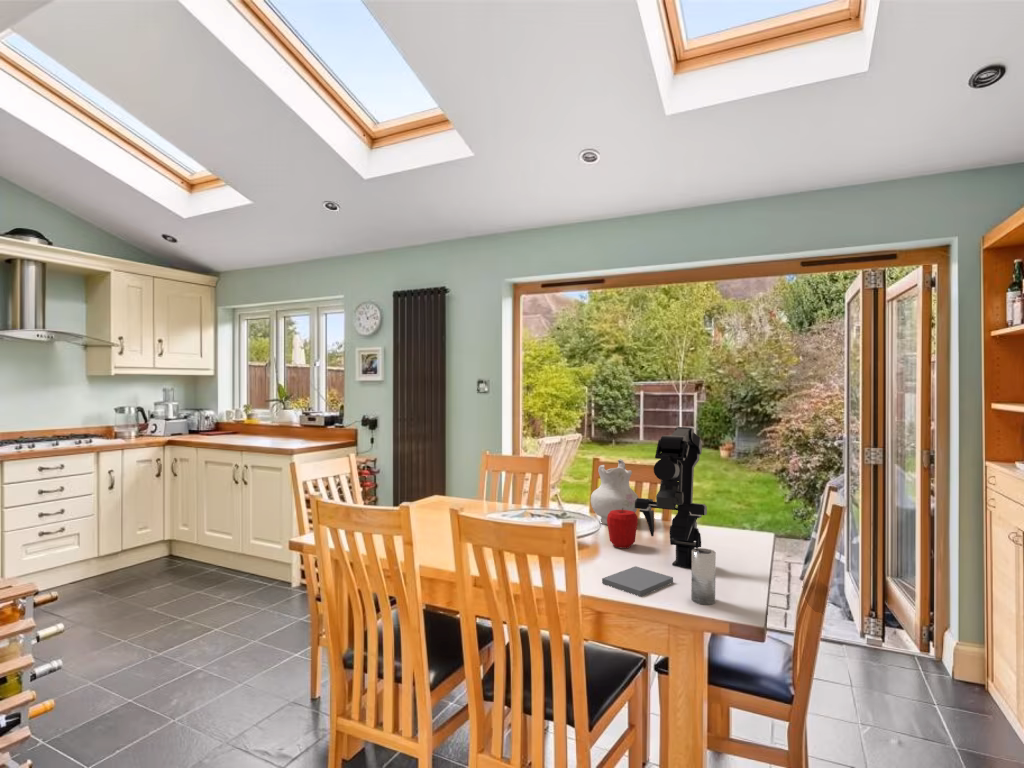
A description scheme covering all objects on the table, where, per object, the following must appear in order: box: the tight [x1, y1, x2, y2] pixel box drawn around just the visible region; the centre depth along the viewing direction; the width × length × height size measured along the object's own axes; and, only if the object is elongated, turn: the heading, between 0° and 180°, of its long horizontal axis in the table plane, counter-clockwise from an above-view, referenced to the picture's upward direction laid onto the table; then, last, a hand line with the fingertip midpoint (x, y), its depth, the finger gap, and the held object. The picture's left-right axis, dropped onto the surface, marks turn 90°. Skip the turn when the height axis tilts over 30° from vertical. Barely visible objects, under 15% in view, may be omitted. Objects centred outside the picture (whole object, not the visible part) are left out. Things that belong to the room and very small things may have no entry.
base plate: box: [601, 565, 674, 597], centre depth 162 cm, size 16×13×2 cm
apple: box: [607, 509, 639, 549], centre depth 199 cm, size 10×10×14 cm
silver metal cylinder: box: [690, 547, 717, 606], centre depth 150 cm, size 6×6×13 cm
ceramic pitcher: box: [590, 458, 639, 526], centre depth 234 cm, size 22×20×25 cm
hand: (669, 538), depth 156 cm, fingers open, 9 cm apart
